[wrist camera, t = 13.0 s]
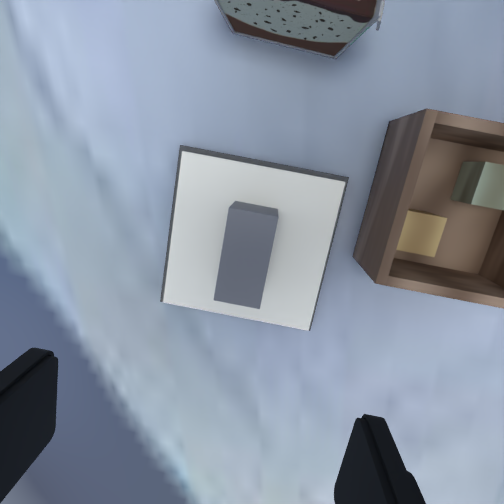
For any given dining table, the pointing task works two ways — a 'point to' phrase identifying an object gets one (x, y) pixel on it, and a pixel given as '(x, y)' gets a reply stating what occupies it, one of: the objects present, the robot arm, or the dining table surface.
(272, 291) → the lid
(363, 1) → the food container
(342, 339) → the dining table surface
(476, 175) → the sage block
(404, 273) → the storage box
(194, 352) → the dining table surface
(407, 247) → the ochre block
